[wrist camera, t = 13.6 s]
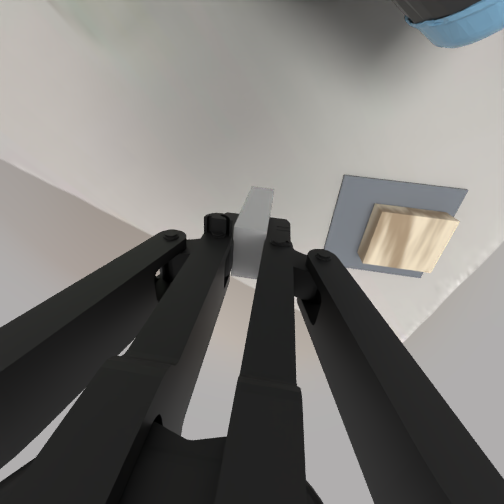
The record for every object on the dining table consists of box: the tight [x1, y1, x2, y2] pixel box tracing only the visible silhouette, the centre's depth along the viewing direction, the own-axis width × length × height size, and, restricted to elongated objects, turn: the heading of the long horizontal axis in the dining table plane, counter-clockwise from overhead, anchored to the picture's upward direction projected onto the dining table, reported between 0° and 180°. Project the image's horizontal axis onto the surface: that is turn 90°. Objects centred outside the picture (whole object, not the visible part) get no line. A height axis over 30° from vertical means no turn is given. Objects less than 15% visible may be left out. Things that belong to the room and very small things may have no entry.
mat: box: [324, 175, 468, 278], centre depth 46 cm, size 20×18×1 cm
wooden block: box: [357, 203, 460, 273], centre depth 44 cm, size 4×10×12 cm
